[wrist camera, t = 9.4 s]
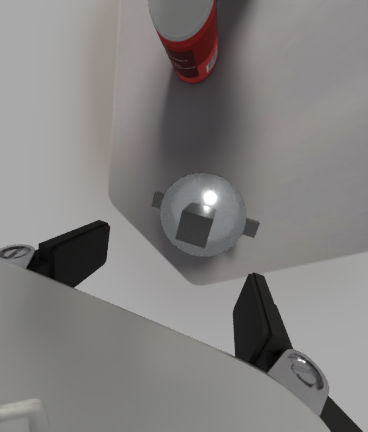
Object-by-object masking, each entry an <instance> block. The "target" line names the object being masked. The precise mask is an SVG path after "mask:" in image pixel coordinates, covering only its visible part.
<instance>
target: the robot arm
mask: <svg viewBox="0 0 368 432" xmlns="http://www.w3.org/2000/svg"><path fill="white" fill-rule="evenodd" d="M109 232H110V226H109V225H108V223H106V222H104V221H101V220H98V221H95V222H93V223H90V224H88V225H85V226H83V227H80V228H78V229H75V230H72V231H70V232H67V233H65V234H62V235H60V236H57V237H55V238H52V239H50V240H47V241H44V242H42V243H39V249H38V250H36V251H35V248H34V247H32V246H29V245H22V244H20V245H11V246H7V247H4V248H1V249H0V432H363V431H362V430H361V429H360V428H359V427H358V426H357V425H356V424H355V423H354V422H353V421H352V420H351V419H350V418H349V417H348V416H347V415H346V414H345V413H344V412H343V411H342V410H341V409H340V407H339V406H337V404H335V402H334V401H333V400H332V399H331V398H330V397H329V396H328V393H329V386H328V382H327V380H326V378H325V376H324V374H323V373H322V371H321V370H320V369H319V367H318V366H317V365H316V364H315V363H314V362H313V361H312V360H311V359H310V358H309V357H307V356H306V355H305V354H303V353H301V352H299V351H296V350H294V349H293V347H292V345H291V342H290V339H289V337H288V334H287V332H286V329H285V326H284V324H283V321H282V319H281V316H280V314H279V311H278V308H277V306H276V305H275V304H274V301H273V299H272V296H271V293H270V291H269V288H268V285H267V283H266V280H265V277H264V276H262V275H260V274H257V273H252V274H249V275H248V277H247V279H246V282H245V284H244V286H243V288H242V291H241V293H240V296H239V298H238V300H237V302H236V305H235V307H234V311H233V325H234V342H235V356H232V355H230V354H228V353H226V352H224V351H222V350H219V349H217V348H215V347H212V346H210V345H208V344H205V343H203V342H201V341H199V340H196V339H194V338H191V337H189V336H187V335H184V334H182V333H180V332H177V331H175V330H172V329H170V328H168V327H165V326H163V325H161V324H159V323H156V322H154V321H152V320H149V319H147V318H145V317H142V316H140V315H137V314H135V313H133V312H130V311H128V310H126V309H123V308H120V307H118V306H116V305H114V304H111V303H109V302H106V301H104V300H101V299H99V298H97V297H94V296H92V295H90V294H87V293H85V292H82V291H80V290H77V289H75V288H74V287H75V286H77V285H78V284H79V283H81V282H82V281H83V280H84V279H86V278H87V277H88V276H90V275H91V274H92V273H94V272H95V271H96V270H97V269H99V268H100V267H101V266H103V265H104V263H105V262H106V258H107V250H108V241H109Z"/></svg>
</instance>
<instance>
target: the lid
mask: <svg viewBox="0 0 368 432" xmlns="http://www.w3.org/2000/svg"><path fill="white" fill-rule="evenodd" d="M160 219H161V224H162V227H163V230H164V232H165V234H166V236H167V237H168V239H169V240H170V241H171V242H172V243H173V244H174V245H175V246H176V247H177V248H179V249H180V250H182V251H183V252H185V253H188V254H190V255H194V256H200V257H209V256H215V255H218V254H221V253H223V252H225V251H227V250H228V249H230V248H231V247H232V246H233V245H234V244H235V243H236V242H237V241H238V240H239V238H240V237H241V235H242V233H243V230H244V227H245V223H246V209H245V205H244V201H243V199H242V197H241V195H240V194H239V192H238V191H237V189H236V188H235V187H234V186H233V185H232V184H231V183H230V182H228V181H227V180H226V179H224V178H222V177H220V176H217V175H214V174H210V173H194V174H190V175H187V176H184V177H182V178H180V179H179V180H177V181H176V182H175V183H174V184H172V185H171V186H170V188H169V189H168V190H167V192H166V193H165V195H164V197H163V200H162V203H161V208H160Z"/></svg>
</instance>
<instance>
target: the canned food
mask: <svg viewBox="0 0 368 432" xmlns="http://www.w3.org/2000/svg"><path fill="white" fill-rule="evenodd" d="M148 6H149V12H150V15H151V18H152V21H153V24H154V26H155V29H156V31H157V33H158V35H159V37H160V40H161V42H162V44H163V46H164V48H165V50H166V52H167V54H168V56H169V59H170V61H171V63H172V65H173V67H174V69H175V71H176V73H177V75H178V76H179V77H180V78H181V79H182V80H184V81H185V82H188V83H198V82H201V81H203V80H204V79H205V78H207V77H208V76H209V74H210V73H211V72H212V70H213V68H214V66H215V63H216V60H217V56H218V33H217V8H216V0H148Z"/></svg>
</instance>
